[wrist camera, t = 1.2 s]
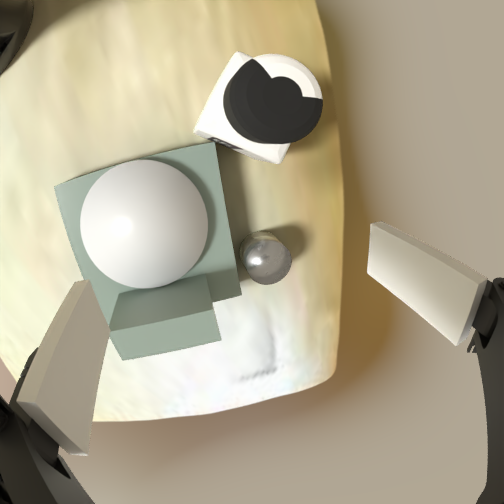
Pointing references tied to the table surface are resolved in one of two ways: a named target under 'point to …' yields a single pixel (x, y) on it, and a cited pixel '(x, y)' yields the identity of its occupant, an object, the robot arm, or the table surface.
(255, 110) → the container
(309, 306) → the table surface
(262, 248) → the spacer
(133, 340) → the scale
